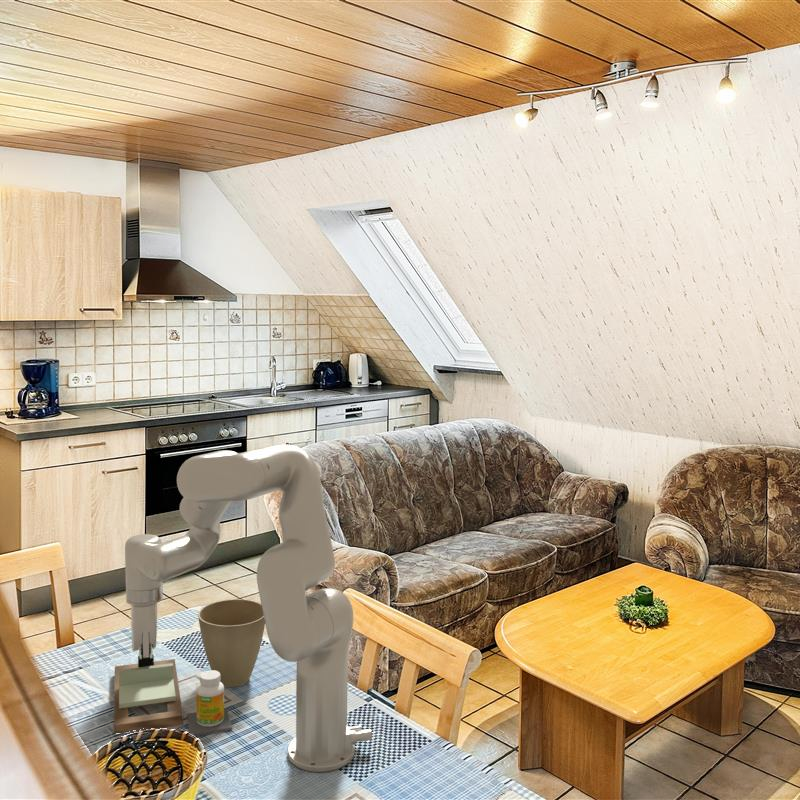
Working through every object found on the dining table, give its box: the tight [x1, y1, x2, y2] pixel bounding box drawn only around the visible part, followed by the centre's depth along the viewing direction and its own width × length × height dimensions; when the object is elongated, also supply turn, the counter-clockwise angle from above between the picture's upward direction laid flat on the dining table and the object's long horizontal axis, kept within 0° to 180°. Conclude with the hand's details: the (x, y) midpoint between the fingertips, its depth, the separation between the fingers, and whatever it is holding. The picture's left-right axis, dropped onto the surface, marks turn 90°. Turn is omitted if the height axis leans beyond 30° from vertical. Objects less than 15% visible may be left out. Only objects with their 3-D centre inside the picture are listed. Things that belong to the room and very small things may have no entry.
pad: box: [186, 707, 233, 737], centre depth 159 cm, size 8×8×1 cm
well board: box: [113, 658, 184, 735], centre depth 168 cm, size 13×26×2 cm, turn 19°
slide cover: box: [119, 663, 176, 709], centre depth 166 cm, size 11×9×4 cm
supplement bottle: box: [195, 669, 225, 727], centre depth 158 cm, size 5×5×10 cm
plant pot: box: [197, 598, 266, 688], centre depth 176 cm, size 15×15×16 cm
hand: (146, 673), depth 172 cm, fingers closed
